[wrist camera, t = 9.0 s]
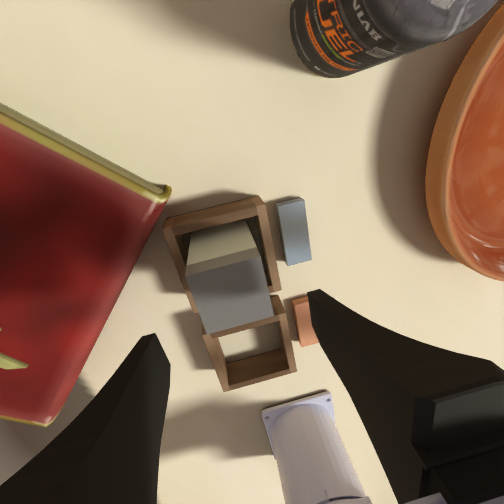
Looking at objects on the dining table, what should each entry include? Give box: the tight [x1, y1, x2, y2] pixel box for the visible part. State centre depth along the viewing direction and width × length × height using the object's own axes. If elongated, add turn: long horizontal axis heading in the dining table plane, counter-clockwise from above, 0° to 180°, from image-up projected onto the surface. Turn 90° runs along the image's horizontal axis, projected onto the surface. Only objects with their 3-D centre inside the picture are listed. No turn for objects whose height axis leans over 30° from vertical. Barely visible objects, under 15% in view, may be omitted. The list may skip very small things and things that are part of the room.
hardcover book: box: [0, 103, 172, 427], centre depth 18 cm, size 12×21×4 cm, turn 148°
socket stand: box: [162, 196, 319, 392], centre depth 22 cm, size 16×10×2 cm, turn 12°
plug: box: [185, 219, 274, 334], centre depth 18 cm, size 4×4×7 cm
